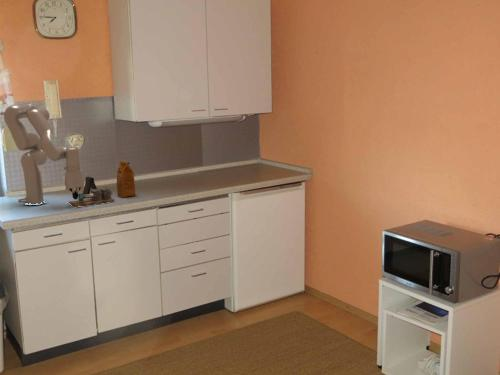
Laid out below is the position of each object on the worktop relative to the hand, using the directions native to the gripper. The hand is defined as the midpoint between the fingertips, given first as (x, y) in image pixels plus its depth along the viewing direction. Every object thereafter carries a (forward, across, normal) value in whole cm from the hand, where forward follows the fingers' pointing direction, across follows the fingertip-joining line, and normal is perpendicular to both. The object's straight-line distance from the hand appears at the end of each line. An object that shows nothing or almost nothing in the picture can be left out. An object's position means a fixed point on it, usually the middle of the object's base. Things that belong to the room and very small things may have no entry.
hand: (75, 198), depth 351 cm
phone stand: (+4, +15, +20) cm, 26 cm away
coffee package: (+4, +33, +7) cm, 34 cm away
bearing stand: (+4, +10, 0) cm, 10 cm away
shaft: (+2, +12, 0) cm, 12 cm away
